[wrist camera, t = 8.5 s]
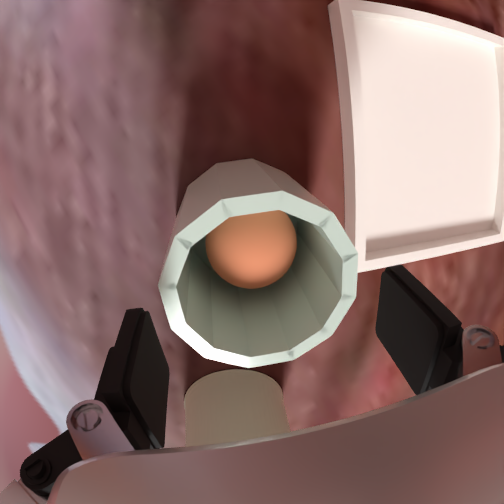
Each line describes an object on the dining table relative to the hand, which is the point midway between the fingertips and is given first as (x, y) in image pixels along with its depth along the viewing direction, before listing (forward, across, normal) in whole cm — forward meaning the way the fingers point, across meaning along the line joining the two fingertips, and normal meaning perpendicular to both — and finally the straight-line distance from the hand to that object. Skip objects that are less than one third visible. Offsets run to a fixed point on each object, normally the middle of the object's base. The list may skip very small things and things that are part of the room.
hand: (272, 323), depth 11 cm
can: (+11, +3, +17) cm, 20 cm away
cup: (+11, 0, 0) cm, 11 cm away
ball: (+10, 0, 0) cm, 10 cm away
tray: (+11, -15, -5) cm, 19 cm away
